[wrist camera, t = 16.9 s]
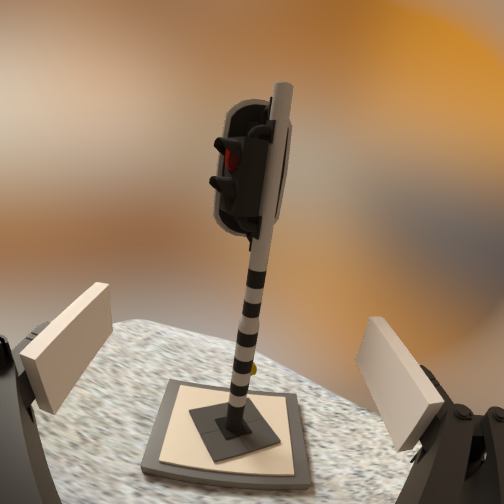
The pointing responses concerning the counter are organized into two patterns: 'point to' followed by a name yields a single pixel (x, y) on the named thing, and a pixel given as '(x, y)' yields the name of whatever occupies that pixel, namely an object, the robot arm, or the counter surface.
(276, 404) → the plate
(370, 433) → the counter surface
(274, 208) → the miniature traffic light
